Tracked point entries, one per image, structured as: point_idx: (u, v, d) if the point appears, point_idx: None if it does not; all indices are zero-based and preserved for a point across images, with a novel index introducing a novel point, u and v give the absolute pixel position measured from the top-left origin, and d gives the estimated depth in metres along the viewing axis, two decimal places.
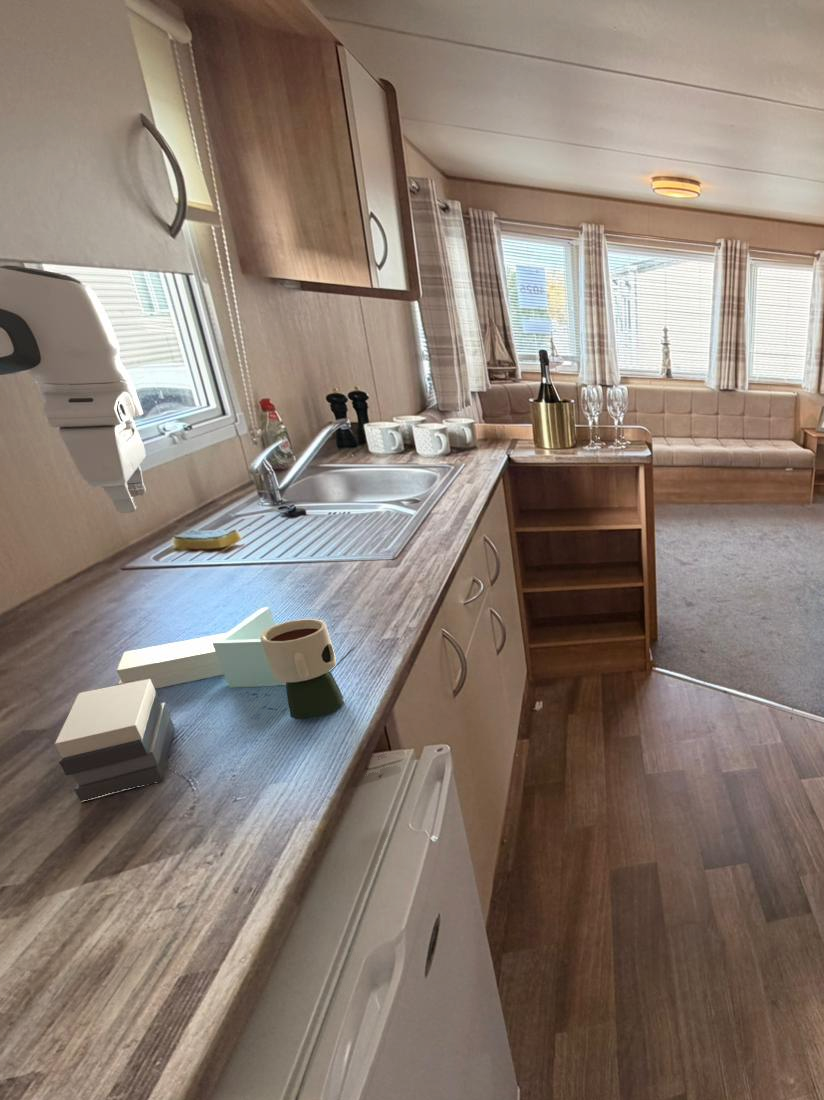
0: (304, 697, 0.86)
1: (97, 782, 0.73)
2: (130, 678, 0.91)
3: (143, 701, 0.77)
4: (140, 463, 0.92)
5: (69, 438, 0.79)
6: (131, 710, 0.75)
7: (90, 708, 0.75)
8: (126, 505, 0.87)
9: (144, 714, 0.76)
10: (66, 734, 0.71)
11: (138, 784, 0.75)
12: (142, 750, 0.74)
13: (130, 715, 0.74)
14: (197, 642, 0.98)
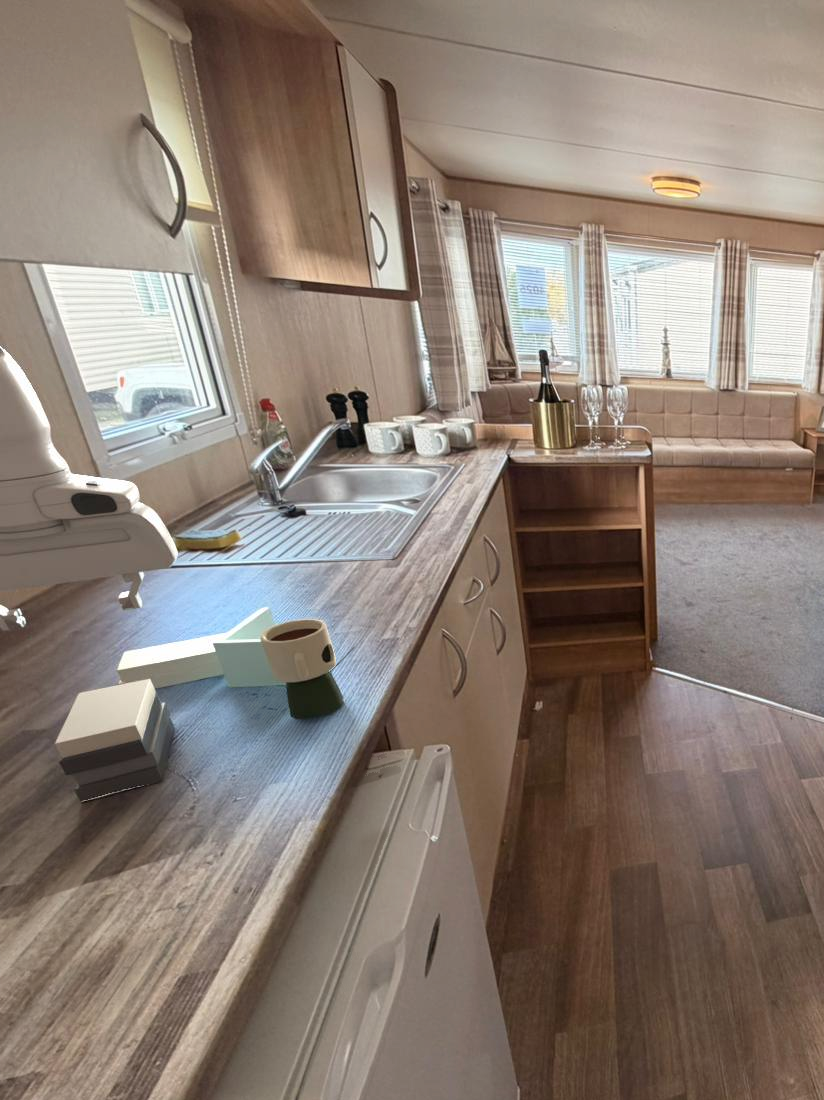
0: (304, 697, 0.86)
1: (97, 782, 0.73)
2: (130, 678, 0.91)
3: (143, 701, 0.77)
4: None
5: (148, 518, 0.72)
6: (131, 710, 0.75)
7: (90, 708, 0.75)
8: (138, 597, 0.75)
9: (144, 714, 0.76)
10: (66, 734, 0.71)
11: (138, 784, 0.75)
12: (142, 750, 0.74)
13: (130, 715, 0.74)
14: (197, 642, 0.98)
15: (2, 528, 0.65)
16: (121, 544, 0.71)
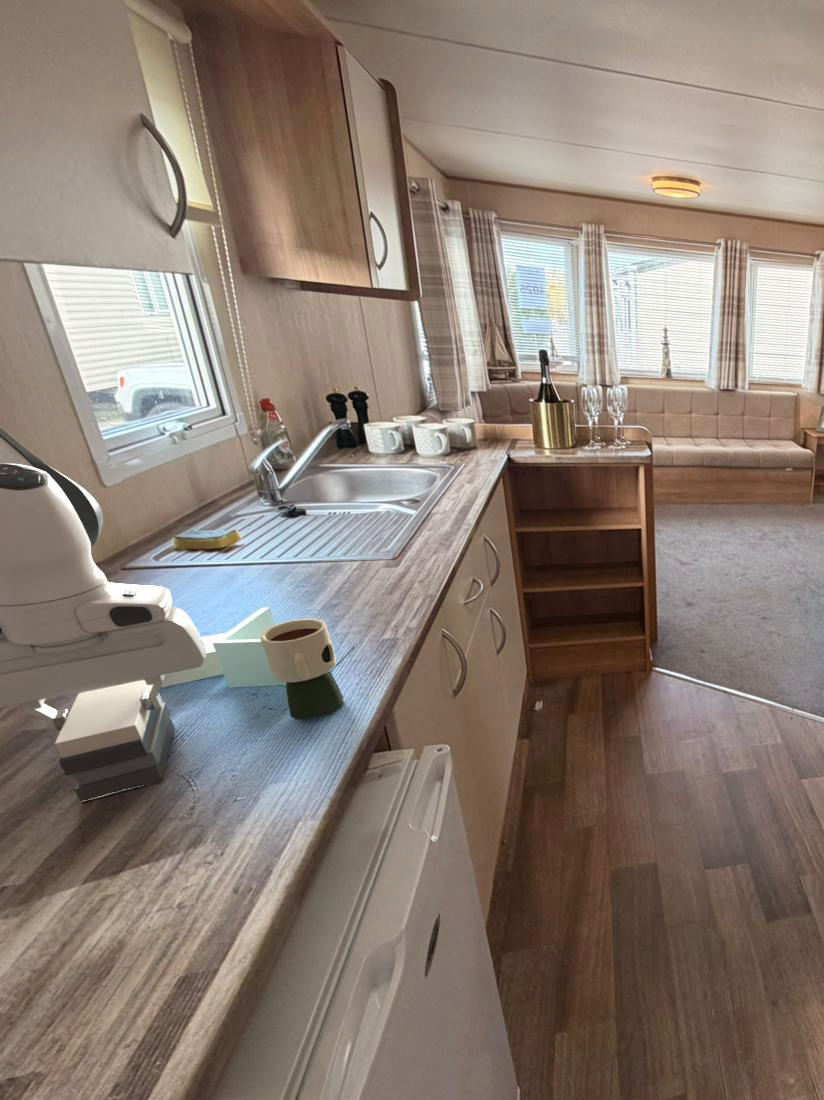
0: (304, 697, 0.86)
1: (97, 782, 0.73)
2: None
3: None
4: None
5: (180, 623, 0.75)
6: (131, 710, 0.75)
7: (89, 708, 0.75)
8: (159, 697, 0.78)
9: (144, 714, 0.76)
10: (66, 734, 0.71)
11: (138, 784, 0.75)
12: (142, 750, 0.74)
13: (130, 715, 0.74)
14: None
15: None
16: (154, 649, 0.75)
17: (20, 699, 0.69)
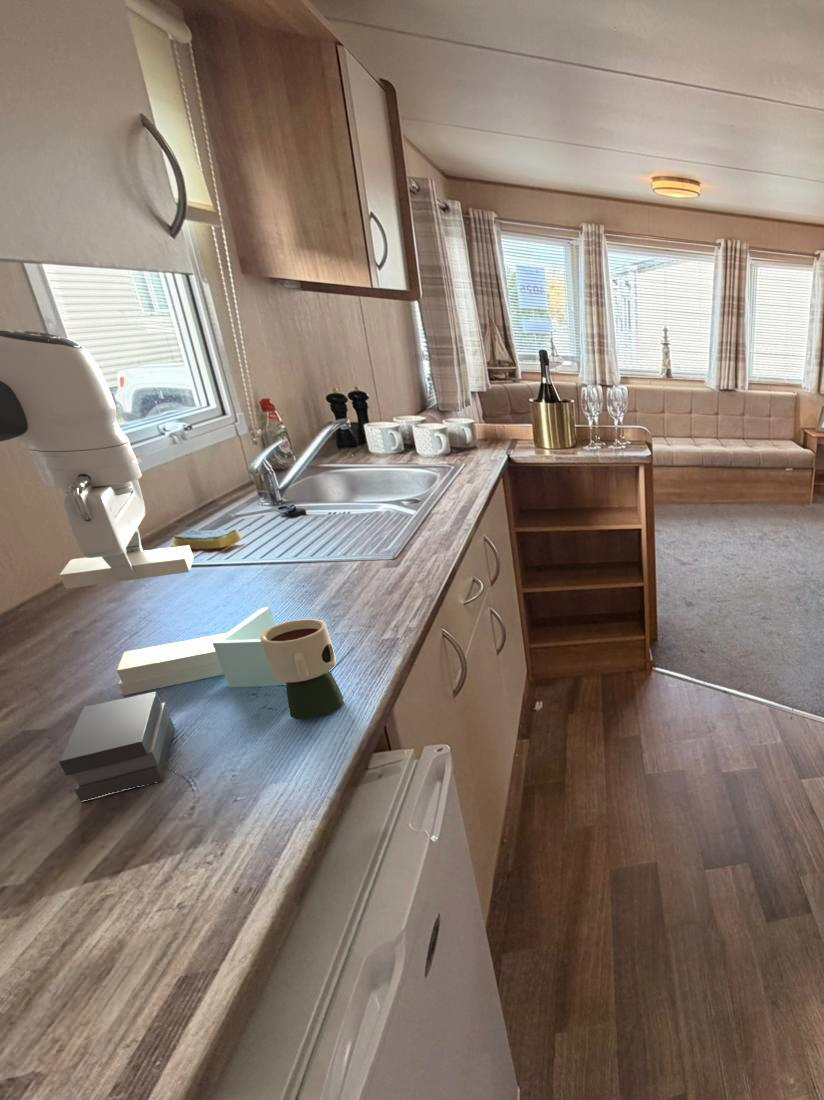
0: (304, 697, 0.86)
1: (97, 782, 0.73)
2: (130, 678, 0.91)
3: None
4: None
5: None
6: (149, 551, 0.90)
7: None
8: None
9: None
10: (169, 559, 0.88)
11: (138, 784, 0.75)
12: (142, 750, 0.74)
13: (163, 549, 0.91)
14: (197, 642, 0.98)
15: (125, 483, 0.83)
16: (133, 496, 0.90)
17: (128, 539, 0.82)
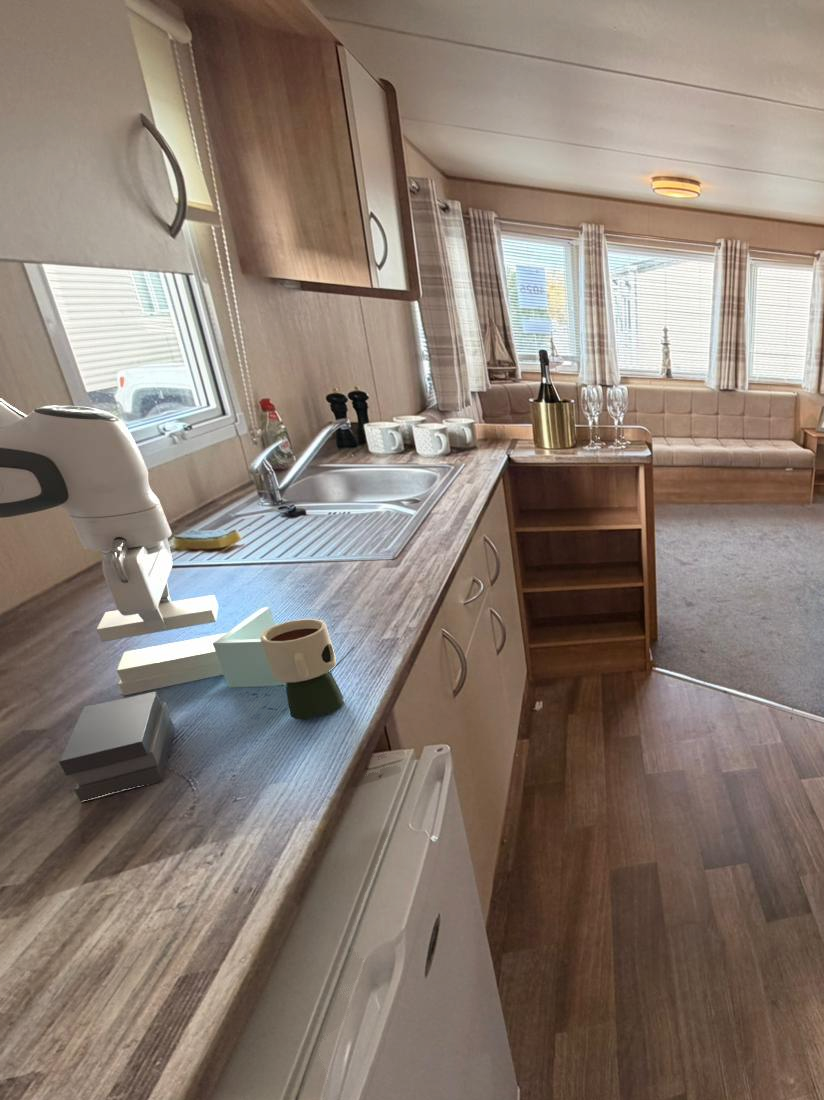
0: (304, 697, 0.86)
1: (97, 782, 0.73)
2: (130, 678, 0.91)
3: None
4: None
5: None
6: (178, 602, 0.95)
7: None
8: None
9: None
10: (197, 610, 0.93)
11: (138, 784, 0.75)
12: (142, 750, 0.74)
13: (190, 600, 0.96)
14: (197, 642, 0.98)
15: (157, 542, 0.89)
16: (162, 550, 0.95)
17: (160, 595, 0.88)
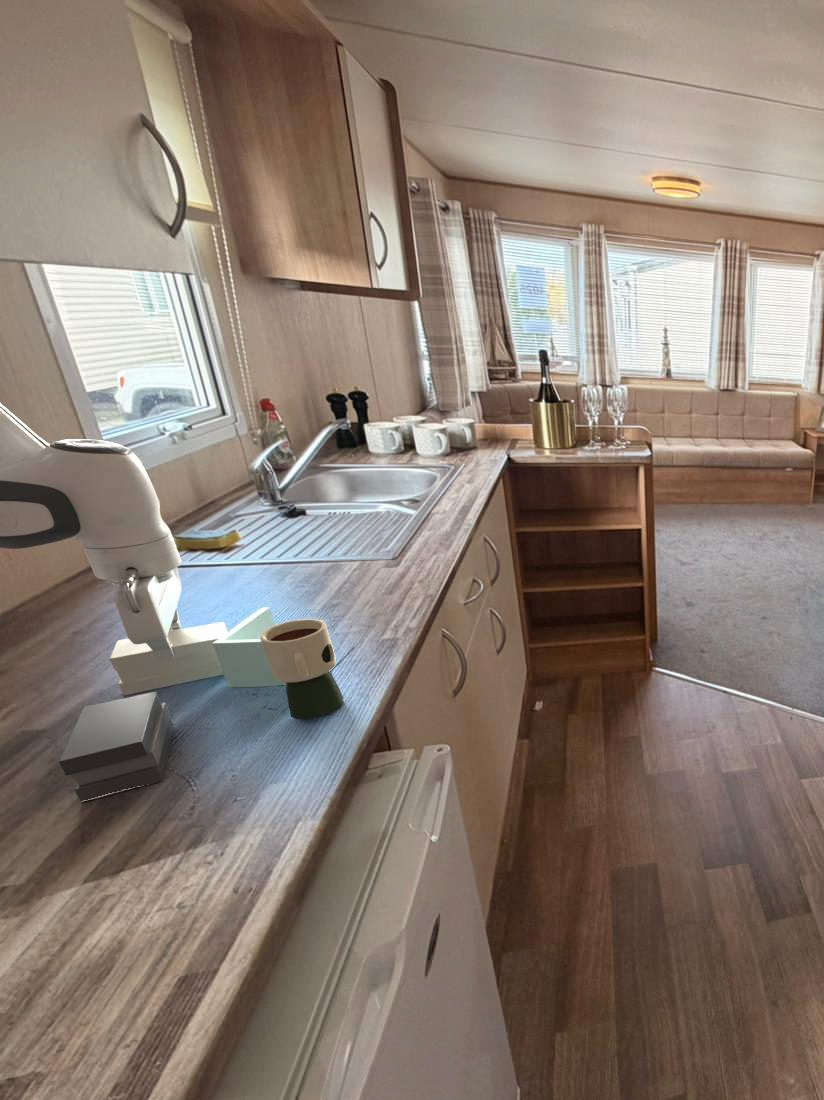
0: (304, 697, 0.86)
1: (97, 782, 0.73)
2: (130, 678, 0.91)
3: None
4: None
5: None
6: (188, 629, 0.97)
7: None
8: None
9: None
10: (208, 638, 0.95)
11: (138, 784, 0.75)
12: (142, 750, 0.74)
13: (200, 627, 0.98)
14: None
15: (167, 571, 0.91)
16: (172, 577, 0.97)
17: (170, 623, 0.90)
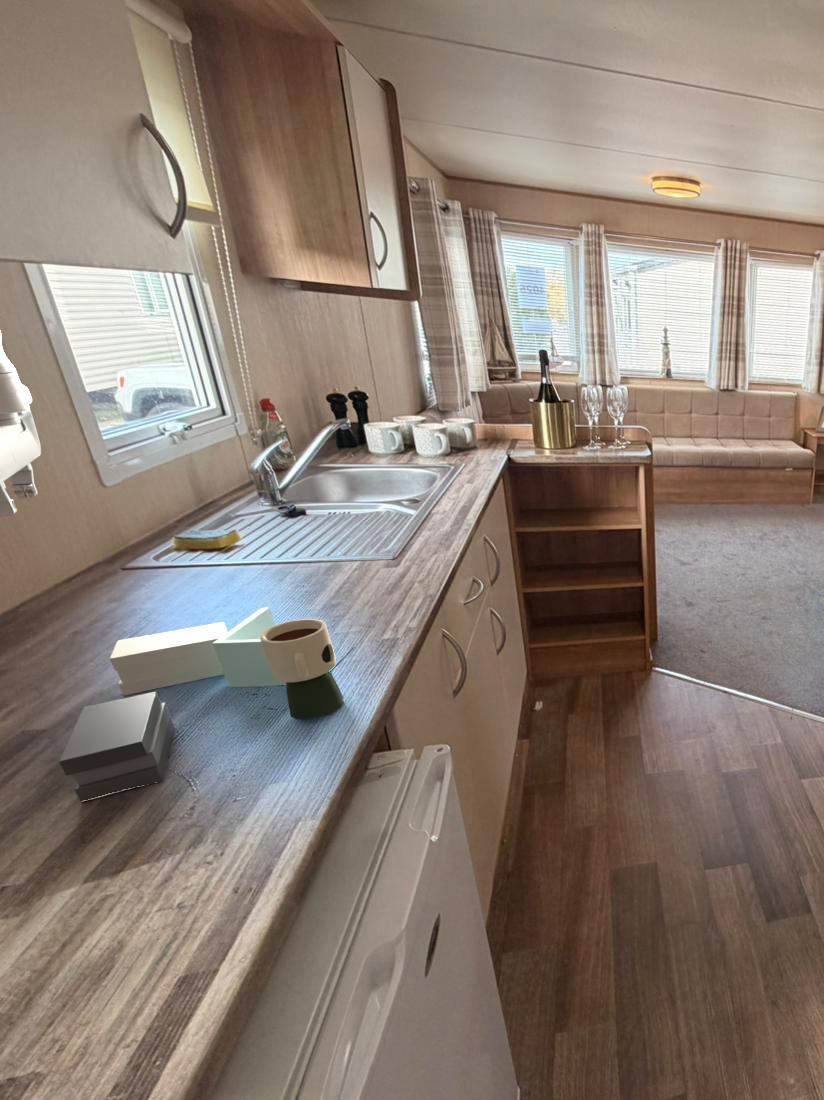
0: (304, 697, 0.86)
1: (97, 782, 0.73)
2: (130, 678, 0.91)
3: None
4: None
5: None
6: (188, 629, 0.97)
7: (160, 644, 0.93)
8: None
9: None
10: (208, 638, 0.95)
11: (138, 784, 0.75)
12: (142, 750, 0.74)
13: (200, 627, 0.98)
14: None
15: (10, 415, 0.80)
16: (25, 433, 0.86)
17: (8, 472, 0.79)
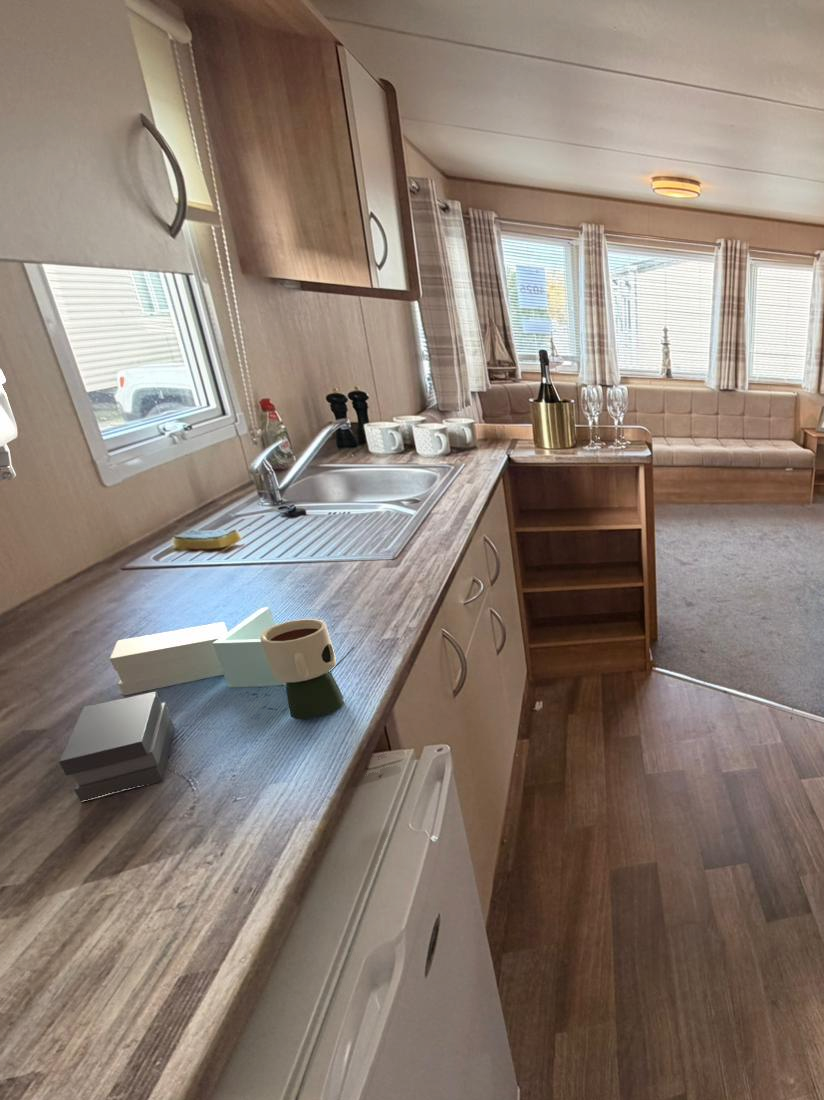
0: (304, 697, 0.86)
1: (97, 782, 0.73)
2: (130, 678, 0.91)
3: None
4: None
5: None
6: (188, 629, 0.97)
7: (160, 644, 0.93)
8: None
9: None
10: (208, 638, 0.95)
11: (138, 784, 0.75)
12: (142, 750, 0.74)
13: (200, 627, 0.98)
14: None
15: None
16: (0, 414, 0.84)
17: None
